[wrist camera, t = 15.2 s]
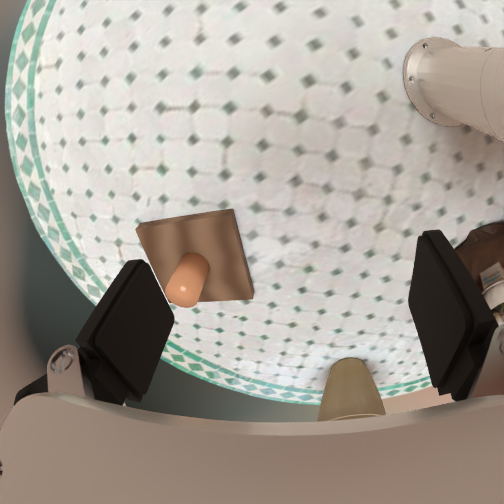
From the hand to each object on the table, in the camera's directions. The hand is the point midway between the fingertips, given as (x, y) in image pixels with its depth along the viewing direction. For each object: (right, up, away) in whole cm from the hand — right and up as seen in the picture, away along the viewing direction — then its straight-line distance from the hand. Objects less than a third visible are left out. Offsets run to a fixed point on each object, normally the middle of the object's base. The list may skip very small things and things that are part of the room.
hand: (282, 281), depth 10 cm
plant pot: (+21, -25, +52) cm, 62 cm away
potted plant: (+42, -3, +33) cm, 53 cm away
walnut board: (-10, 0, +39) cm, 40 cm away
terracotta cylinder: (-10, -1, +37) cm, 38 cm away
